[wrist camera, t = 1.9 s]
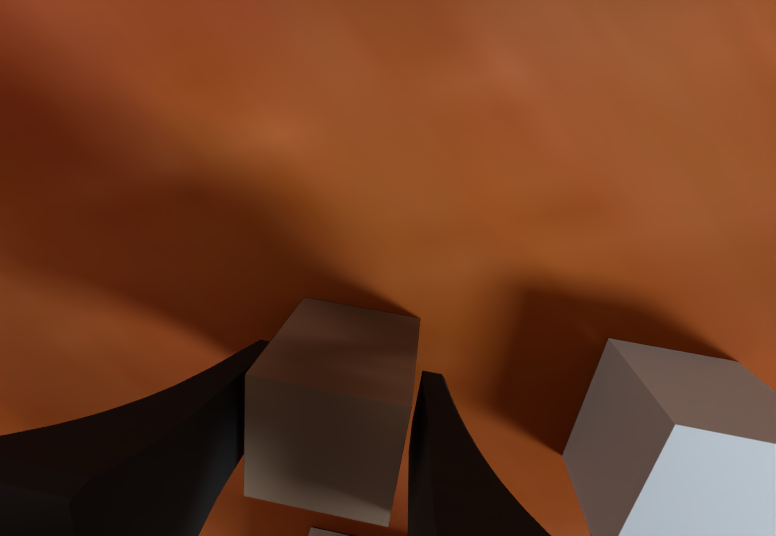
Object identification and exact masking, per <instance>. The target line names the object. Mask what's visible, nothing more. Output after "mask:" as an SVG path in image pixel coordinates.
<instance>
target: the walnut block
mask: <svg viewBox="0 0 776 536" xmlns="http://www.w3.org/2000/svg"><path fill="white" fill-rule="evenodd" d="M419 327H420V318H416V317H410V316H405V315H399V314H394V313H388V312H383V311H377V310H372V309H366V308H361V307H355V306H349V305H344V304H338V303H333V302H327V301H322V300H316V299H311V298H305V297H304V299H303V300H302V301H301V302H300V304H299V305H298V306H297V308H296V309H295V310H294V312H293V313H292V314H291V315H290V317H289V318H288V319H287V321H286V322H285V323H284V325H283V326H282V327H281V329H280V330H279V331H278V332H277V334H276V335H275V336H274V338H273V339H272V340H271V342H270V343H269V344H268V345H267V347H266V348H265V349H264V351H263V352H262V353H261V355H260V356H259V357H258V358H257V360H256V361H255V362H254V364H253V365H252V366H251V368H250V369H249V370H248V371H247V373H246V374H245V434H244V496H247V497H251V498H256V499H260V500H265V501H270V502H274V503H279V504H284V505H288V506H293V507H298V508H302V509H307V510H311V511H316V512H321V513H325V514H330V515H335V516H339V517H344V518H348V519H353V520H358V521H362V522H367V523H372V524H376V525H381V526H385V527H388V525H389V520H390V515H391V510H392V505H393V500H394V494H395V489H396V484H397V479H398V474H399V469H400V464H401V459H402V454H403V449H404V444H405V439H406V434H407V429H408V424H409V419H410V414H411V409H412V400H413V389H414V379H415V369H416V358H417V348H418V338H419Z"/></svg>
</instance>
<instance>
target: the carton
mask: <svg viewBox="0 0 776 536" xmlns="http://www.w3.org/2000/svg"><path fill="white" fill-rule="evenodd" d="M562 457H563V460H564V462H565V465H566V468H567V471H568V473H569V476H570V479H571V482H572V484H573V487H574V490H575V493H576V496H577V498H578V501H579V504H580V507H581V509H582V512H583V515H584V518H585V520H586V523H587V526H588V529H589V531H590V534H591V536H776V392H775V391H774V390H773V389H772V388H770V387H769V386H768V385H767V384H765V383H764V382H763V381H762V380H760V379H759V378H758V377H757V376H755V375H754V374H753V373H752V372H750V371H749V370H748V369H747V368H745V367H744V366H743V365H742V364H741V363H739V362H737V361H731V360H726V359H720V358H715V357H709V356H704V355H698V354H693V353H687V352H682V351H676V350H671V349H665V348H660V347H654V346H649V345H643V344H638V343H632V342H627V341H621V340H616V339H610V338H608V341H607V343H606V346H605V348H604V351H603V354H602V356H601V359H600V361H599V364H598V366H597V369H596V371H595V374H594V376H593V379H592V381H591V384H590V386H589V389H588V391H587V394H586V396H585V399H584V402H583V404H582V407H581V409H580V412H579V414H578V417H577V419H576V422H575V424H574V427H573V429H572V432H571V434H570V437H569V439H568V442H567V444H566V447H565V450H564V452H563V455H562Z"/></svg>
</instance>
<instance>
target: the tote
mask: <svg viewBox="0 0 776 536" xmlns="http://www.w3.org/2000/svg"><path fill="white" fill-rule="evenodd" d="M308 536H349V535H345V534H340V533H336V532H331V531H327V530H322V529H317V528H313V527H311V528H310V531H309V534H308Z"/></svg>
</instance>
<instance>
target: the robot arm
mask: <svg viewBox="0 0 776 536" xmlns="http://www.w3.org/2000/svg"><path fill="white" fill-rule="evenodd" d="M269 343H270V342H269V341H264V340H259V341H257V342H255V343H253V344H252V345H250V346H248V347H246V348H245V349H243V350H241V351H239V352H238V353H236V354H234V355H232V356H231V357H229V358H227V359H225V360H223V361H222V362H220V363H218V364H216V365H215V366H213V367H211V368H209V369H207V370H205V371H203V372H201V373H199V374H197V375H195V376H193V377H191V378H189V379H187V380H185V381H183V382H181V383H179V384H177V385H175V386H172V387H170V388H168V389H165V390H163V391H161V392H158V393H156V394H153V395H151V396H148V397H146V398H143V399H140V400H137V401H134V402H131V403H128V404H126V405H123V406H120V407H117V408H114V409H111V410H108V411H105V412H101V413H98V414H94V415H91V416H87V417H84V418H80V419H76V420H72V421H68V422H64V423H60V424H56V425H51V426H47V427H42V428H37V429H32V430H27V431H22V432H17V433H12V434H7V435H2V436H0V536H198V535H199V533H200V531H201V529H202V527H203V525H204V523H205V521H206V519H207V517H208V515H209V513H210V511H211V509H212V507H213V505H214V503H215V501H216V499H217V497H218V495H219V494H220V492H221V490H222V488H223V487H224V485H225V483H226V482H227V480H228V478H229V477H230V475H231V474H232V472H233V470H234V469H235V467H236V466H237V464H238V462H239V461H240V459H241V458H242V456H243V454H244V434H245V374H246V373H247V371H248V370H249V369H250V368H251V366H252V365H253V364H254V362H255V361H256V360H257V358H258V357H259V356H260V355H261V353H262V352H263V351H264V349H265V348H266V347H267V345H268V344H269ZM407 536H551V535H550V534H549V533H548V532H547V531H546V530H545V529H543V527H542V526H541V525H540V524H539V523H538V522H537V521H536V520H535V519H534V518H533V517H532V516H531V515H530V514H529V513H528V512H527V511H526V510H525V509H524V508H523V507H522V506H521V504H520V503H519V502H518V501H517V500H516V499H515V497H514V496H513V495H512V494H511V493H510V492H509V490H508V489H507V488H506V487H505V486H504V484H503V483H502V482H501V481H500V479H499V478H498V477H497V475H496V474H495V473H494V471H493V470H492V469H491V467H490V466H489V464H488V463H487V461H486V460H485V458H484V457H483V455H482V454H481V452H480V451H479V449H478V448H477V446H476V444H475V443H474V441H473V439H472V437H471V436H470V434H469V432H468V430H467V428H466V427H465V425H464V423H463V421H462V419H461V417H460V415H459V413H458V411H457V409H456V406H455V404H454V402H453V400H452V397H451V395H450V392H449V390H448V387H447V385H446V382H445V378H444V377H443V375H442V374H438V373H432V372H427V371H422V376H421V381H420V386H419V391H418V396H417V401H416V406H415V411H414V416H413V420H412V428H411V436H410V445H409V472H408V534H407Z"/></svg>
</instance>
